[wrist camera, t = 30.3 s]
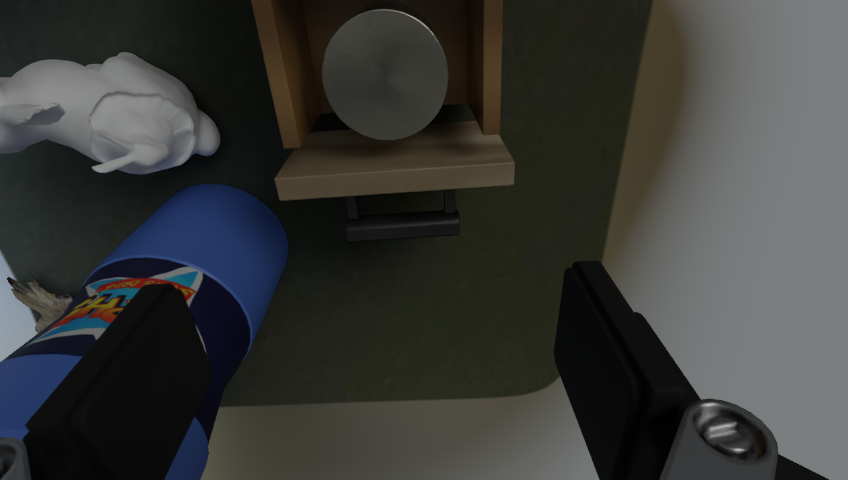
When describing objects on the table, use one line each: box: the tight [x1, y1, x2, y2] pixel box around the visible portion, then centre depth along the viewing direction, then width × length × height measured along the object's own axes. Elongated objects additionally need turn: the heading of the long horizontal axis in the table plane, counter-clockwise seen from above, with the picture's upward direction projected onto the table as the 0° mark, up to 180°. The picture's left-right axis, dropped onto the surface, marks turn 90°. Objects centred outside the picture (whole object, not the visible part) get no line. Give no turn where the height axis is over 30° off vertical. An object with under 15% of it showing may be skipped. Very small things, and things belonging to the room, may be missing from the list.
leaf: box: [7, 269, 73, 333], centre depth 36 cm, size 11×15×2 cm
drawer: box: [251, 0, 515, 242], centre depth 23 cm, size 18×11×7 cm, turn 3°
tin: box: [322, 2, 449, 140], centre depth 23 cm, size 6×6×5 cm
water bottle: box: [0, 184, 288, 480], centre depth 22 cm, size 9×9×25 cm
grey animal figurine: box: [0, 52, 220, 174], centre depth 23 cm, size 12×8×10 cm, turn 67°
